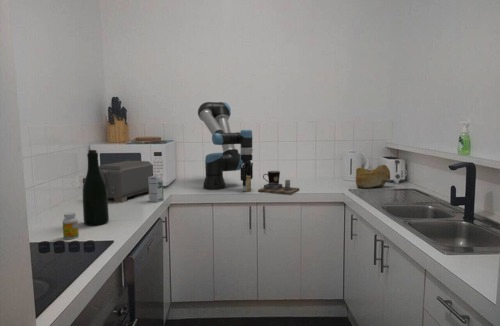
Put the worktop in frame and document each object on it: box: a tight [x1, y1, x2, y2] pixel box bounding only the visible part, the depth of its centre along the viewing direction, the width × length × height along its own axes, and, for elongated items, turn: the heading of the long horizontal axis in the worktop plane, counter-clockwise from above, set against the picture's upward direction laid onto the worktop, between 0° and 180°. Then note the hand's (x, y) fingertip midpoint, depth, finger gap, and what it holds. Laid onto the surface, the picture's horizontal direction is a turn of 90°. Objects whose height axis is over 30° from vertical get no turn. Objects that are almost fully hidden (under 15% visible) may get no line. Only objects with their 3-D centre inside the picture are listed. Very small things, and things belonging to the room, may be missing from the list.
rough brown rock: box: [355, 164, 391, 189], centre depth 249 cm, size 23×17×15 cm
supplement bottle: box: [62, 211, 80, 240], centre depth 145 cm, size 5×5×10 cm
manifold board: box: [257, 179, 300, 196], centre depth 236 cm, size 22×16×8 cm
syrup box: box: [148, 174, 165, 203], centre depth 209 cm, size 6×6×14 cm
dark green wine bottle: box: [82, 149, 110, 226], centre depth 164 cm, size 10×10×33 cm
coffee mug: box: [262, 170, 281, 184], centre depth 255 cm, size 12×9×10 cm
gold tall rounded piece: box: [243, 175, 252, 193], centre depth 237 cm, size 5×5×10 cm
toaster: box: [99, 160, 154, 204], centre depth 222 cm, size 19×35×20 cm, turn 158°
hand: (246, 189), depth 237 cm, fingers closed on gold tall rounded piece, 5 cm apart
